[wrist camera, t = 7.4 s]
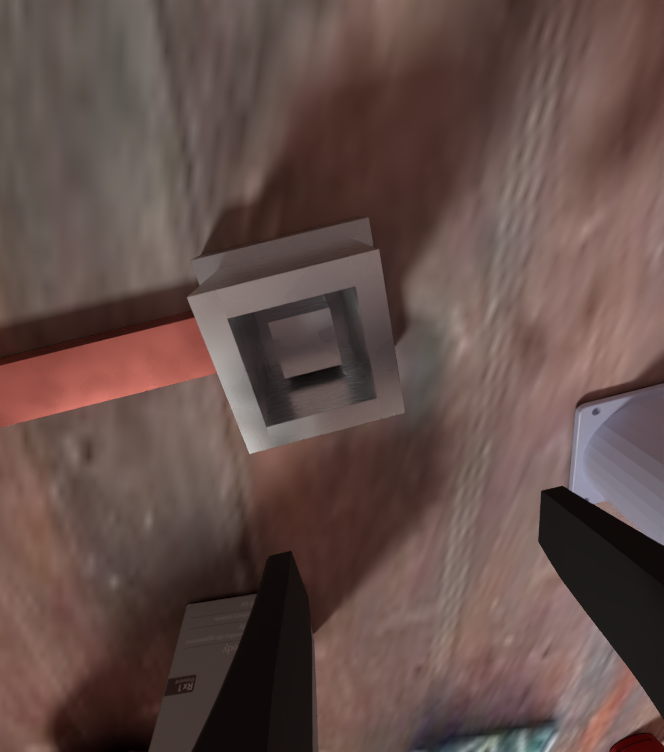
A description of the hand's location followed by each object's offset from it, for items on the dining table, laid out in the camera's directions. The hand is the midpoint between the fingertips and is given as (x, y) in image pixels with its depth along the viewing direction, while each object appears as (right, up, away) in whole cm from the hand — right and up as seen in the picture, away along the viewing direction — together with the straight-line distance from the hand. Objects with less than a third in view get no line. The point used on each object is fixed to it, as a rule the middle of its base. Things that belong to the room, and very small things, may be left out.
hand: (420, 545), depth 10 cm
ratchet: (-10, +6, +7) cm, 13 cm away
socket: (-4, +7, +5) cm, 10 cm away
